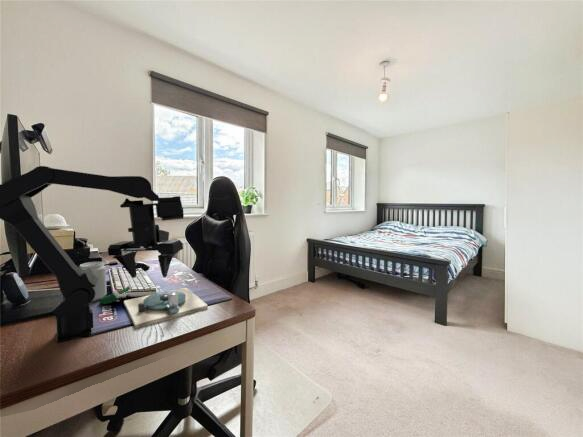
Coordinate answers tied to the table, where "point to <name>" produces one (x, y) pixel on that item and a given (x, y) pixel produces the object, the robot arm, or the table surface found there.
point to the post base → (148, 317)
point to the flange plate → (165, 301)
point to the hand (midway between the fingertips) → (149, 277)
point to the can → (99, 272)
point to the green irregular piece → (114, 296)
